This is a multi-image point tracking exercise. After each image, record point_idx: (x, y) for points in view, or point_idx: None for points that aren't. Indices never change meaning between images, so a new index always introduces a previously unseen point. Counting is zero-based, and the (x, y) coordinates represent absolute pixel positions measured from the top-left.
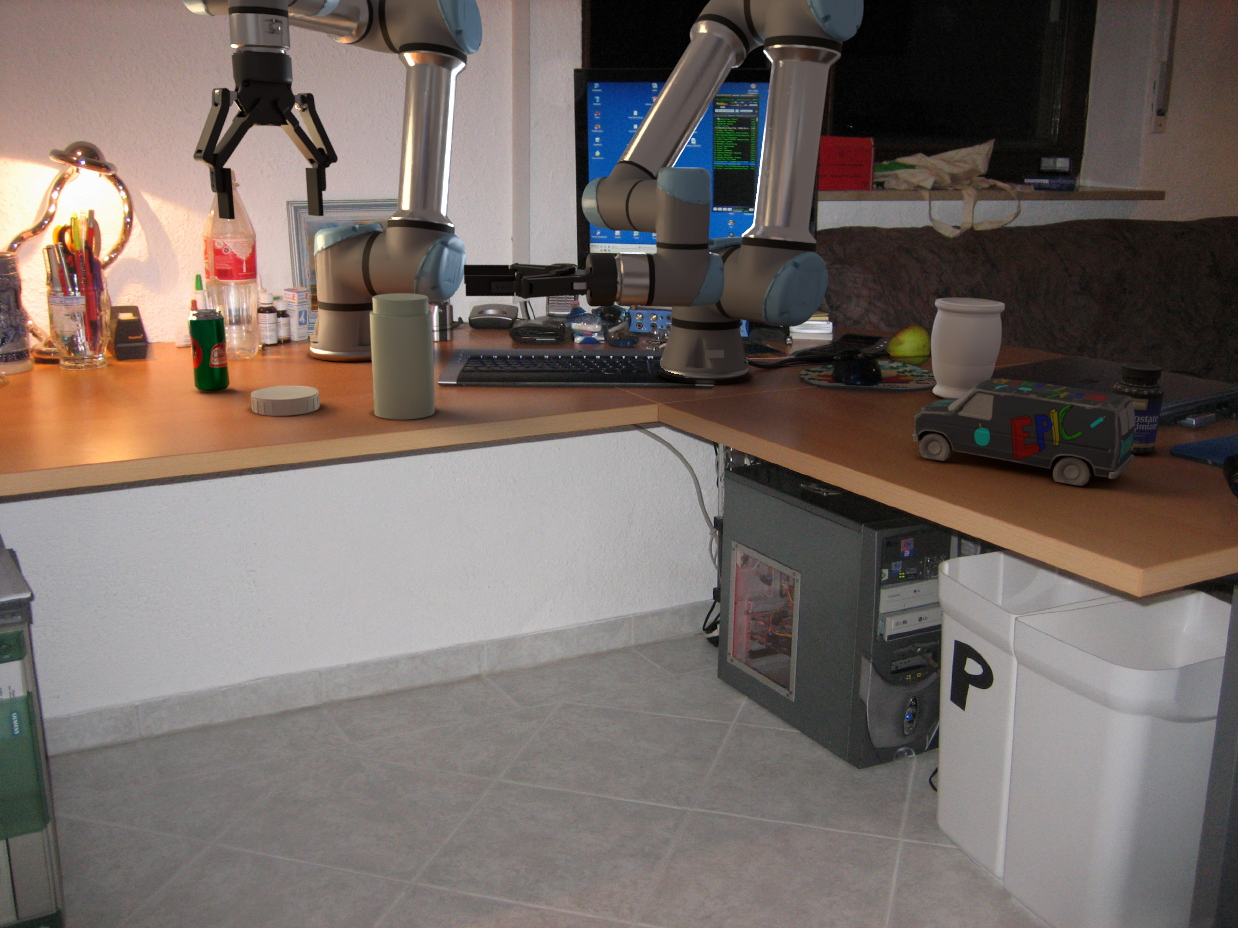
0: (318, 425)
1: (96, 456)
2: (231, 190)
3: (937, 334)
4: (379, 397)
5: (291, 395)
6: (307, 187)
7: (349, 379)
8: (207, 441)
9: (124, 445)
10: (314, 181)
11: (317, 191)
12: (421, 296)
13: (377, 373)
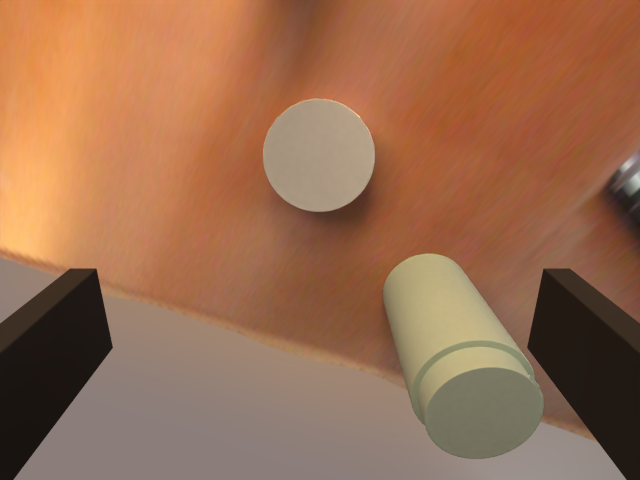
0: (296, 271)
1: (2, 219)
2: (34, 442)
3: None
4: (386, 307)
5: (313, 187)
6: (632, 356)
7: (550, 15)
8: (143, 246)
9: (45, 192)
10: (638, 458)
11: (592, 430)
12: (519, 433)
13: (392, 325)
